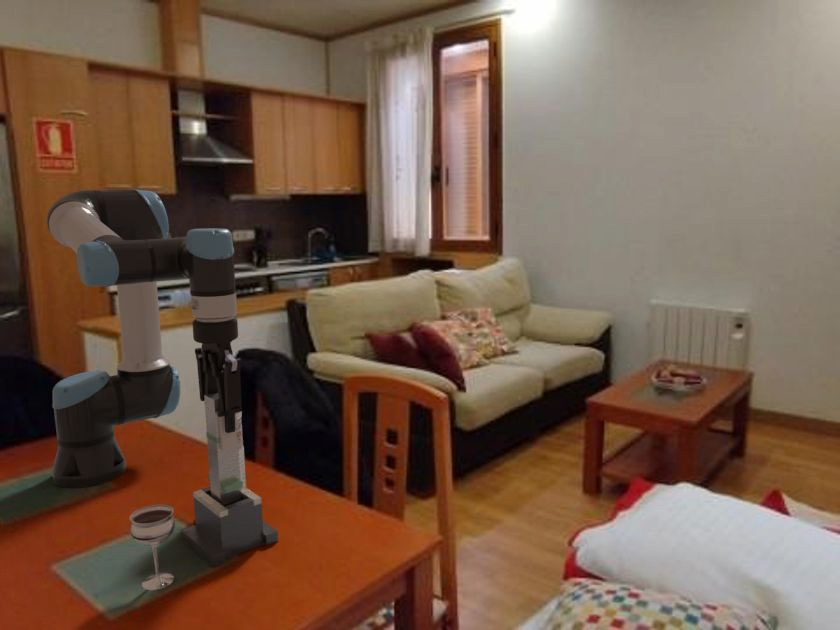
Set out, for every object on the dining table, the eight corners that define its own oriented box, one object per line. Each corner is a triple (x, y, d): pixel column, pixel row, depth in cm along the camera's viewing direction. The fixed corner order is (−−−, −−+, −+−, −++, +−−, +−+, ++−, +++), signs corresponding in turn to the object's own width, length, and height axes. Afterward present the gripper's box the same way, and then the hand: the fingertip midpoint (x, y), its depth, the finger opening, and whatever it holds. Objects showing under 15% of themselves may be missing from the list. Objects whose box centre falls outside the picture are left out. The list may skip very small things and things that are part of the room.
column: (207, 496, 120) (200, 392, 117) (227, 489, 123) (221, 388, 119) (224, 509, 115) (218, 402, 112) (245, 502, 118) (239, 397, 114)
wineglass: (176, 590, 105) (170, 521, 103) (131, 596, 104) (124, 526, 102) (182, 567, 112) (177, 502, 109) (140, 572, 110) (134, 506, 108)
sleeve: (181, 539, 121) (178, 494, 119) (244, 516, 129) (242, 474, 128) (212, 567, 111) (208, 519, 110) (278, 541, 120) (275, 495, 118)
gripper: (173, 314, 117) (183, 437, 121) (216, 328, 104) (225, 464, 109) (213, 308, 122) (221, 427, 126) (258, 321, 109) (265, 452, 113)
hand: (222, 444), depth 117 cm, fingers closed on column, 4 cm apart
